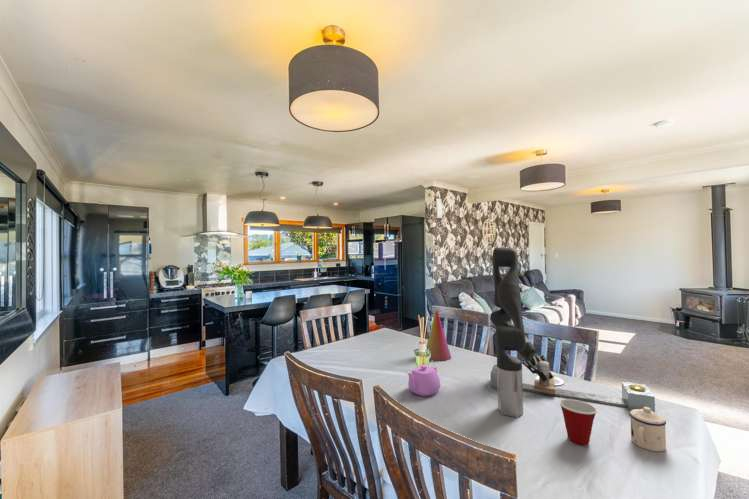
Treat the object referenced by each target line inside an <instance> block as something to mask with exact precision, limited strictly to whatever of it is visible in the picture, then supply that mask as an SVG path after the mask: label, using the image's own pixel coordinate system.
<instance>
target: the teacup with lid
mask: <svg viewBox="0 0 749 499" xmlns="http://www.w3.org/2000/svg"><path fill="white" fill-rule="evenodd" d="M629 416H630V439H631V441H632V442H633V443H634V445H636V446H638V447H640V448H642V449H644V450H646V451H651V452H664V451H666V450H667V448H666V447H667V446H666V443H667V442H666V441H667V438H666V424H667V421H666V419H665V418H664V416H662V415H660V414H658V413H656V412H655V413H654V412H653V411H651V409H650V408H649V407H643V409H634V410H631V411H629Z"/></svg>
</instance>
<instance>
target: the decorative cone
mask: <svg viewBox="0 0 749 499" xmlns="http://www.w3.org/2000/svg"><path fill="white" fill-rule="evenodd" d="M442 324H443V323H442V321H441V318H440V314H439V311H438V308H437V306H436V307H435V311H434V315H433V319H432V323H431V327H430V331H429V335H428V340H427V344H426V347H427V349H429V350H430V351H431V357H430V360H433V361H432V362H439V361H440V362H447V360H448V361H450V360H452V355H451V351H450V349H449V344H448V342H447V338H446V336H445V331H444V328H443V325H442ZM430 360H429V361H430Z"/></svg>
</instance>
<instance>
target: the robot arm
mask: <svg viewBox="0 0 749 499" xmlns="http://www.w3.org/2000/svg"><path fill="white" fill-rule="evenodd" d="M491 257H492V258H491V260H492V274H493V276H492V277H493V286H494V298H493V303H494V306H495V307H497V308H499V309H497V310H495V311H492V312H491V313H490V315H489V318H490V319H489V320H490V321H491V323H492V325H494V327H496V329H495V347H496V365H497V388H498V389H497V409H498V411H499V413H500V415H504V416H509V417H515V418H519V417H520V416H522V415H523V414H524V394H523V392H524V391H523V385H522V383H523V365H524V366H525V368H527V370H529V371H530V373H532V374H533V375H534V374H536V375H537V376H539V377H540V378H541V379H542V380H543V382H545V381H546V380H547V377H546V376H545V375H544V373H543V372H541V369H540V368H539V361H547V358H545V356H544V354H541V355H539V354H538V353H537V352H536V351H537V349H536V348H535V346H534V344H533V343H532V342H531V341H530V340H529V338H528V337H527V336H526V331H525V326H524V320H523V313H522V298H521V287H520V280H519V260H518V259H519V258H518V257H519V256H518V250H517V249H516V248H514V247H495V248H493V251H492V256H491ZM500 268H509V270H508V272H507V273H506V274H505V276H504V277H503V276H502V274H501V271H500ZM511 321H512V322H513V324H510V322H511ZM506 351H512V352H517V353H518V355H519V356H520V358H522V359H524V360H525V361H524V362H522V361H521V360H520V359H519V358H517V357H515V356H512V355H511V354H509V353H508V352H506ZM551 372H552V371H550V370H549V379H552V378H553V375H552V374H551Z"/></svg>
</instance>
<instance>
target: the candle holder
mask: <svg viewBox="0 0 749 499" xmlns="http://www.w3.org/2000/svg"><path fill="white" fill-rule="evenodd" d="M550 372H551V374H552V375H553V378H552V379H549V381H552V382H554V383H555V386H562V385H563V384H564V380H563V379H561V377H557V376H555V372H553V371H550ZM535 379H538V380H539V375H537V376H536V377H534V380H535ZM555 381H558V383H556V382H555Z"/></svg>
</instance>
